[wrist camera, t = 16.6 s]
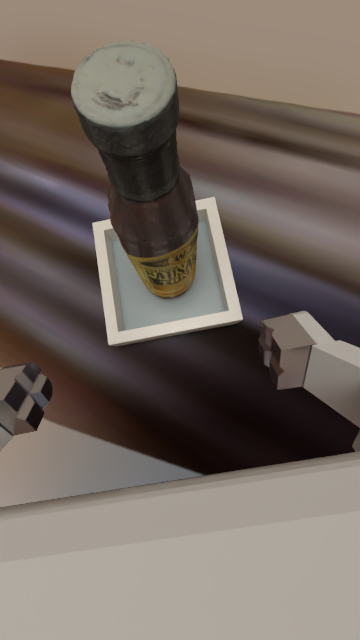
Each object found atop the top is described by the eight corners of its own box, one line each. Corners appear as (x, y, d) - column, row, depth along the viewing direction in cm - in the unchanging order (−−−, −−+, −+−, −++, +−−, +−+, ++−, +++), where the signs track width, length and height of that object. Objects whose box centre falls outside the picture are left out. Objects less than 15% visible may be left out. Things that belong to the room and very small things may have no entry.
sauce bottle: (162, 311, 27) (76, 198, 8) (134, 269, 28) (-3, 78, 9) (208, 280, 28) (236, 95, 8) (179, 240, 29) (141, -11, 9)
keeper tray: (212, 212, 29) (214, 196, 26) (238, 323, 27) (243, 319, 24) (102, 236, 30) (92, 223, 27) (118, 346, 28) (108, 345, 25)
